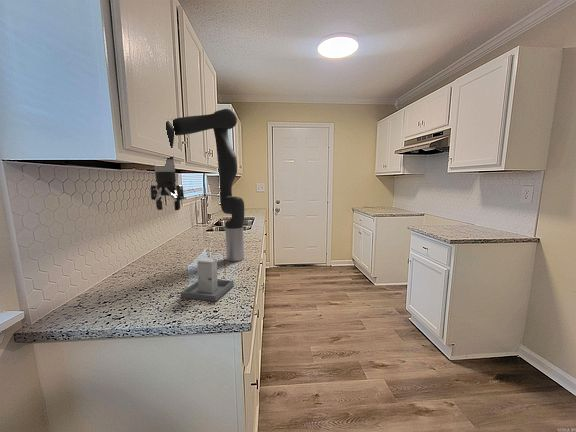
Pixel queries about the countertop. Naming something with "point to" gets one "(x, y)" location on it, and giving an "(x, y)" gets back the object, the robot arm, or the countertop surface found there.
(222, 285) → the tray
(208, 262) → the skincare box
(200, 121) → the robot arm
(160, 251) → the countertop surface
